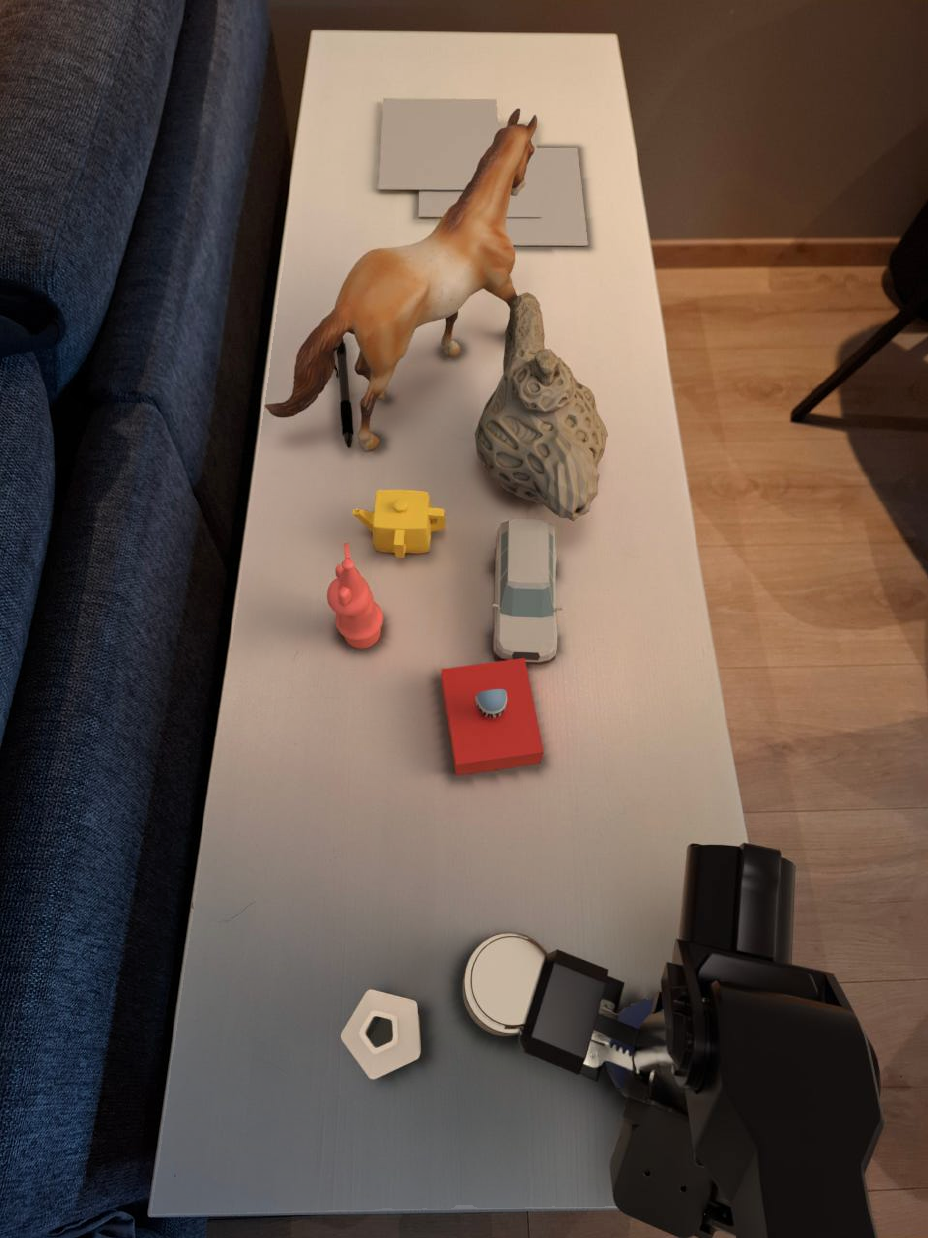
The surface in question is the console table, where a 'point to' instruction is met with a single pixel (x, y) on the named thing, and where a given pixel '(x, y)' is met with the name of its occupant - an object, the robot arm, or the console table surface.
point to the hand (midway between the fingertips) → (649, 1055)
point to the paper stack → (448, 158)
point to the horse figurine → (420, 282)
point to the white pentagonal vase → (383, 1033)
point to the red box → (491, 716)
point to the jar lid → (634, 1018)
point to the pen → (344, 394)
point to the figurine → (354, 605)
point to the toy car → (525, 592)
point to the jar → (502, 981)
